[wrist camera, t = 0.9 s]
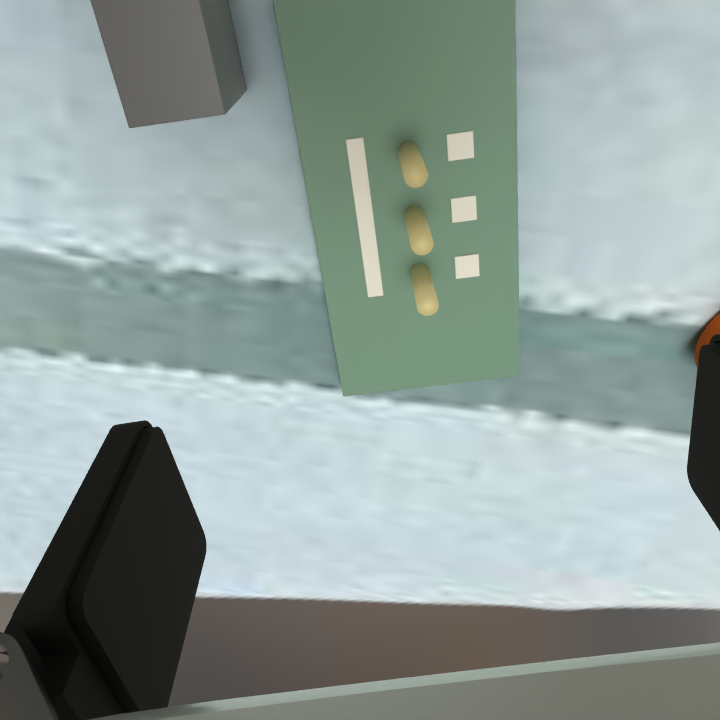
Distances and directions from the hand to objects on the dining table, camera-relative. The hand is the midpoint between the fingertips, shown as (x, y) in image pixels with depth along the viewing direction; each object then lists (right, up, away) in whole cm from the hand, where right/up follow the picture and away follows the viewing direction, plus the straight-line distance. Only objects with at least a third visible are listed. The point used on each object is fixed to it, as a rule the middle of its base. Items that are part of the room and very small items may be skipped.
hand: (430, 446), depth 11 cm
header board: (+1, +9, +22) cm, 24 cm away
